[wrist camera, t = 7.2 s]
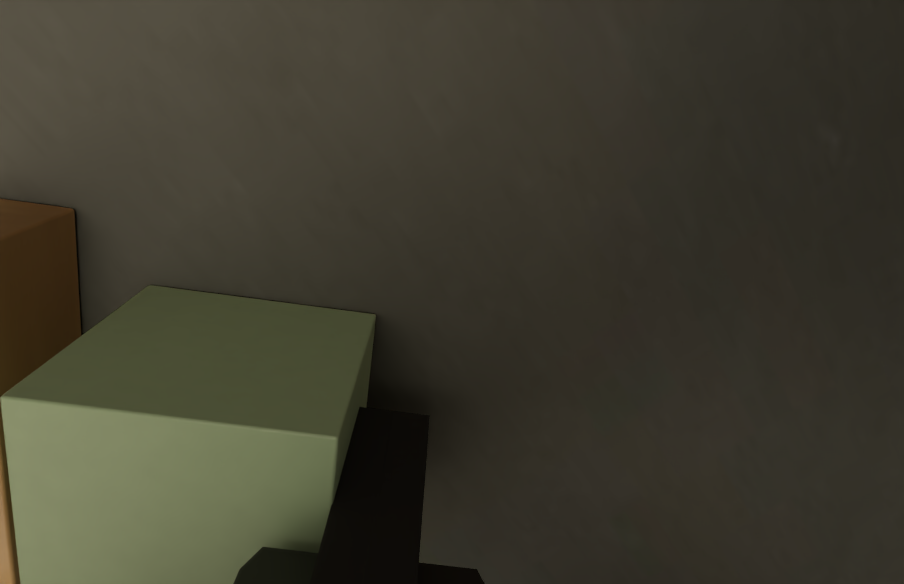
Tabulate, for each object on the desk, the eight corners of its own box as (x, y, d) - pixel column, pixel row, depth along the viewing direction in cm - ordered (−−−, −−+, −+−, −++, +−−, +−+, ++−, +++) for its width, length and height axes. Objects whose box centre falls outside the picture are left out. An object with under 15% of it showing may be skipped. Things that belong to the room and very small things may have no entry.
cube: (376, 313, 14) (338, 438, 10) (356, 499, 16) (316, 681, 11) (148, 283, 14) (-2, 396, 10) (153, 475, 16) (26, 650, 11)
